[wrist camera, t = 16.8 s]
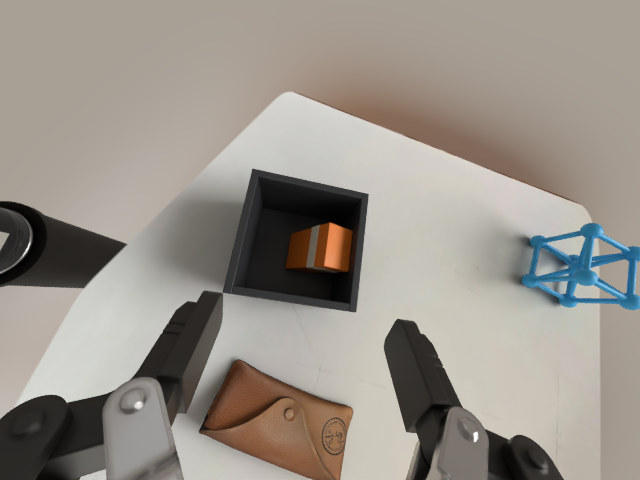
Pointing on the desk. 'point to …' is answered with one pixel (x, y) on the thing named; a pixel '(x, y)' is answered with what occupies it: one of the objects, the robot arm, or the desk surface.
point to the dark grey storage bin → (274, 239)
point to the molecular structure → (585, 269)
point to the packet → (320, 249)
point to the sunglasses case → (279, 423)
